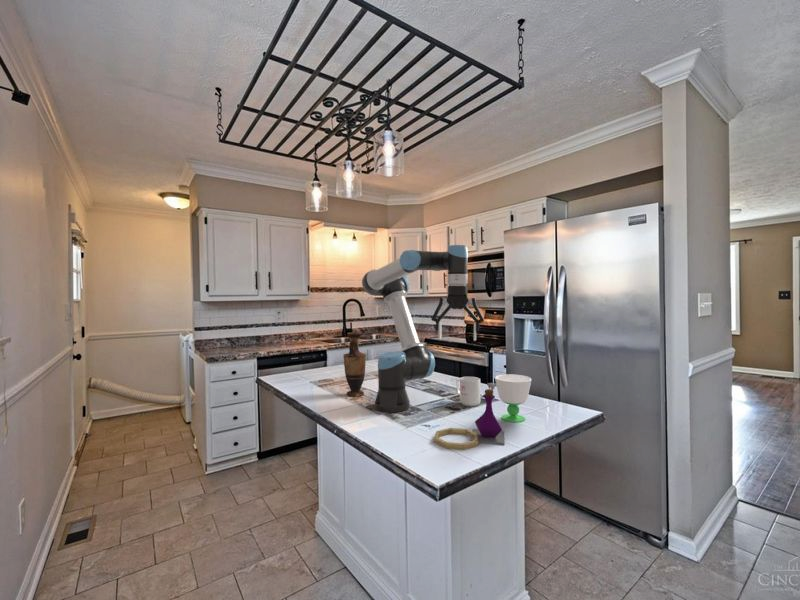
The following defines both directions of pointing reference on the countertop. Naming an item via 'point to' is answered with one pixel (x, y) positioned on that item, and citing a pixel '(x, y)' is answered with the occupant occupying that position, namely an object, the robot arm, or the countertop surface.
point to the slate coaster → (489, 438)
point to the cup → (513, 394)
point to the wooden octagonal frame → (456, 445)
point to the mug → (469, 390)
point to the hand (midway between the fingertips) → (457, 339)
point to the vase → (354, 366)
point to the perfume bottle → (488, 416)
